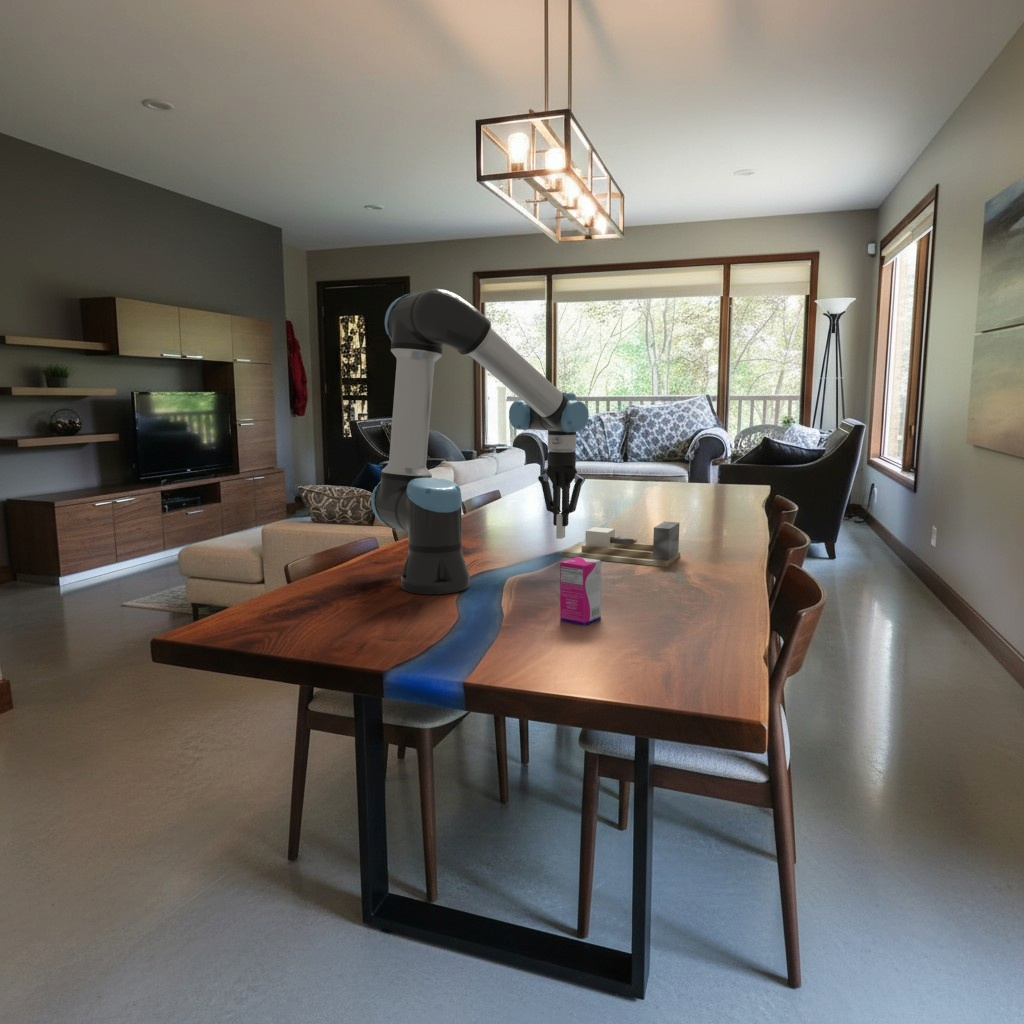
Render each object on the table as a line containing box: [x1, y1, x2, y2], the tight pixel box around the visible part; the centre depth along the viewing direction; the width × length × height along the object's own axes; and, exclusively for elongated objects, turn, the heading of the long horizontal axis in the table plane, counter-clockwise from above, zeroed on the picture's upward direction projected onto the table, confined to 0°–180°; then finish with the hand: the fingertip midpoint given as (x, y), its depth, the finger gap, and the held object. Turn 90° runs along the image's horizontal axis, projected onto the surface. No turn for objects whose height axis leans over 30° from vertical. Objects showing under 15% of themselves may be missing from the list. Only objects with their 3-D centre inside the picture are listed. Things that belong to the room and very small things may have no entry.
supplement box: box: [559, 557, 602, 627], centre depth 142 cm, size 6×6×12 cm
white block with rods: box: [585, 526, 635, 548], centre depth 200 cm, size 12×10×5 cm
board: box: [560, 521, 681, 568], centre depth 197 cm, size 28×14×9 cm, turn 64°
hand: (560, 537), depth 204 cm, fingers closed
